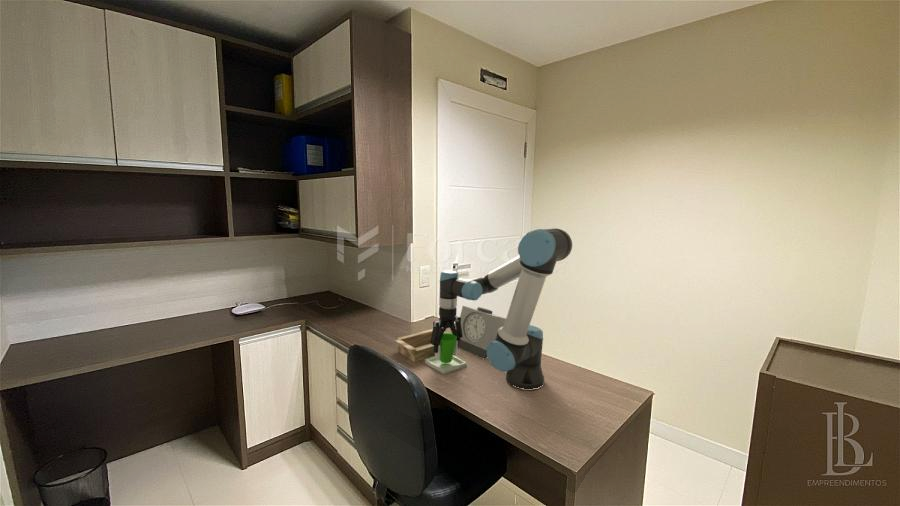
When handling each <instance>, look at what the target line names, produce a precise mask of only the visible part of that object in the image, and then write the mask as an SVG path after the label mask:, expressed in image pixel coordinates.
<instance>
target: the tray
mask: <svg viewBox="0 0 900 506" xmlns="http://www.w3.org/2000/svg"><path fill="white" fill-rule="evenodd" d="M467 362H468V361H467ZM467 362H466V361H465V360H463V359H461V358H459V357H458V356H457V355H455V354H453V357H452V361H451V362H450V363H443V362H441V361H440V360H439V361H438V360H437V359H435V356H431V357H428V358H425V359H424V364H426V365H428V367H430V368H432V369H433V370H435V371H436V372H439V373H440V374H442V375H444V376H445V375H447V374H449V373H452V372H455V371H458V370H460V369H463V368H466V367H467V365H468V363H467Z"/></svg>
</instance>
